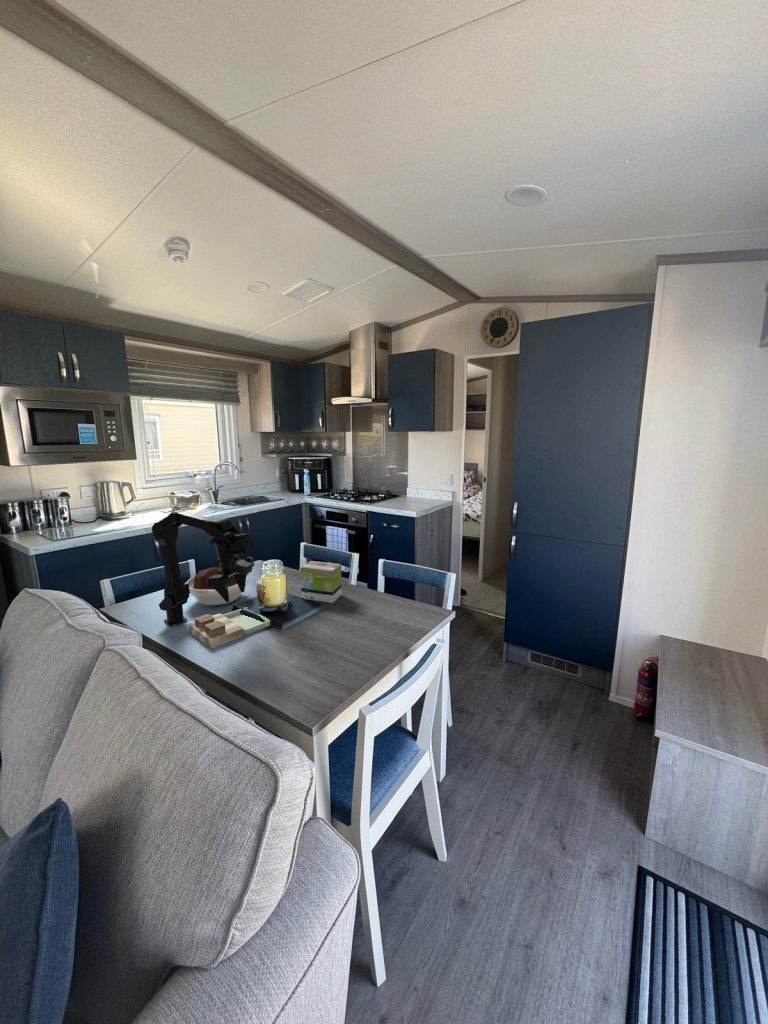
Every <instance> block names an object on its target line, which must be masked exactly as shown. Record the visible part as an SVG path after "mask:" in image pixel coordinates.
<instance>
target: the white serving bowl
mask: <svg viewBox="0 0 768 1024" xmlns="http://www.w3.org/2000/svg"><path fill="white" fill-rule="evenodd" d="M220 570H221V568H220V567H217V566H216V567H215V566H213V567H208V568H206V569H204V570H203V569H202V570H201V569H200V570H199V571H198V572H197V574H196V575H195V576H193V577H191V578H189V579H188V580H187V581H186V583H188V584H189V590H190V592H191V593H189V595H190V596H193V598H194V599H195V600H196V602H198V603H199V604H201V605H204V606H220V605H226V604H229V603H232V602H234V601H236V600H237V599H239V598H240V597H241V595H242V593H243V592H241V591H240V589H239V587H238V584H237V582H236V580H235V578H234V575H233V576H231V577H229V581H228V583H230V584H229V586H228V593H229V602H226V601H225V600H224V599H223V598H222V597H221V595H220V594H219V593H218V592H217V591H216V590H215V589H214V588H211V587H208V584H207V580H208V578H210V577H212V576H214V575H222V574H219V572H218V571H220ZM228 575H229V574H228ZM248 583H249V574H248V575H247V577H246V583H245V587H246V586H247V584H248Z"/></svg>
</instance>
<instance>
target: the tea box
mask: <svg viewBox="0 0 768 1024" xmlns="http://www.w3.org/2000/svg"><path fill="white" fill-rule="evenodd" d="M300 587H301V591H300V592H301V599H302V598H304V599H303V600H310V601H315V602H316V601H317V602H323V603H329V604H333V603H334V602H336V601H337V599H339V598H340V597H341V596H342V564H341V563H336V562H335V563H333V562H324V561H316V560H315V561H314V560H310V561H308V562H307V563H305V564H304V565H302V566H301V567H300Z"/></svg>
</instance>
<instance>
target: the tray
mask: <svg viewBox="0 0 768 1024" xmlns="http://www.w3.org/2000/svg"><path fill="white" fill-rule="evenodd" d="M243 608H248V607H247V606H245V607H243ZM241 610H242V609H241V608H239V609H236V610H232V611H231V612H227V613H224V614H222V615H223V616H225V617H226V618H228V619H230V620H231V621H233V622H235V623H236V624H238V625H239V626H241V627H243V628H244V636H243V637H245V636H248V635H250V634H253V633H255V632H258V631H261V630H264V629H266V628H268V627H271V626H270V621H271V619H269V618H267V617H266V616H264V615H261V614H260V615H258V616H260V617H261V618H262V619H263V620H264V621H265V622H261V621H259V620H256V619H254V618H251V617H248V616H245V615H242V614H240V611H241ZM271 622H272V621H271Z"/></svg>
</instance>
